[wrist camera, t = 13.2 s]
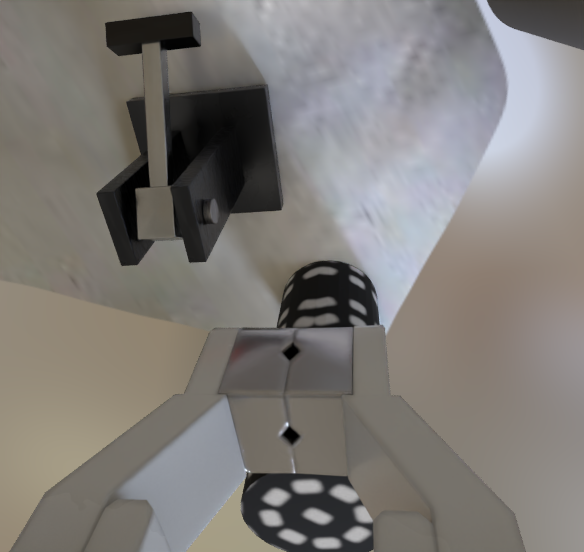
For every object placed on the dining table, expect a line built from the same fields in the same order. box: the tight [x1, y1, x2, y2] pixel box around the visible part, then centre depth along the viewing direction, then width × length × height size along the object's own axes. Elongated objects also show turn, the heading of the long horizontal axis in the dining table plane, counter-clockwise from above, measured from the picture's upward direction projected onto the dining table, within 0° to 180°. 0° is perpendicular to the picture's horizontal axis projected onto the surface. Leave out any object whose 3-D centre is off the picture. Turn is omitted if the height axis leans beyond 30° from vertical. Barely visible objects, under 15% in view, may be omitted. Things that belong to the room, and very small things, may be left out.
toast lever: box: [105, 12, 201, 241], centre depth 27 cm, size 12×5×2 cm
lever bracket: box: [97, 85, 283, 266], centre depth 31 cm, size 9×10×13 cm
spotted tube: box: [241, 261, 379, 552], centre depth 34 cm, size 8×8×20 cm
